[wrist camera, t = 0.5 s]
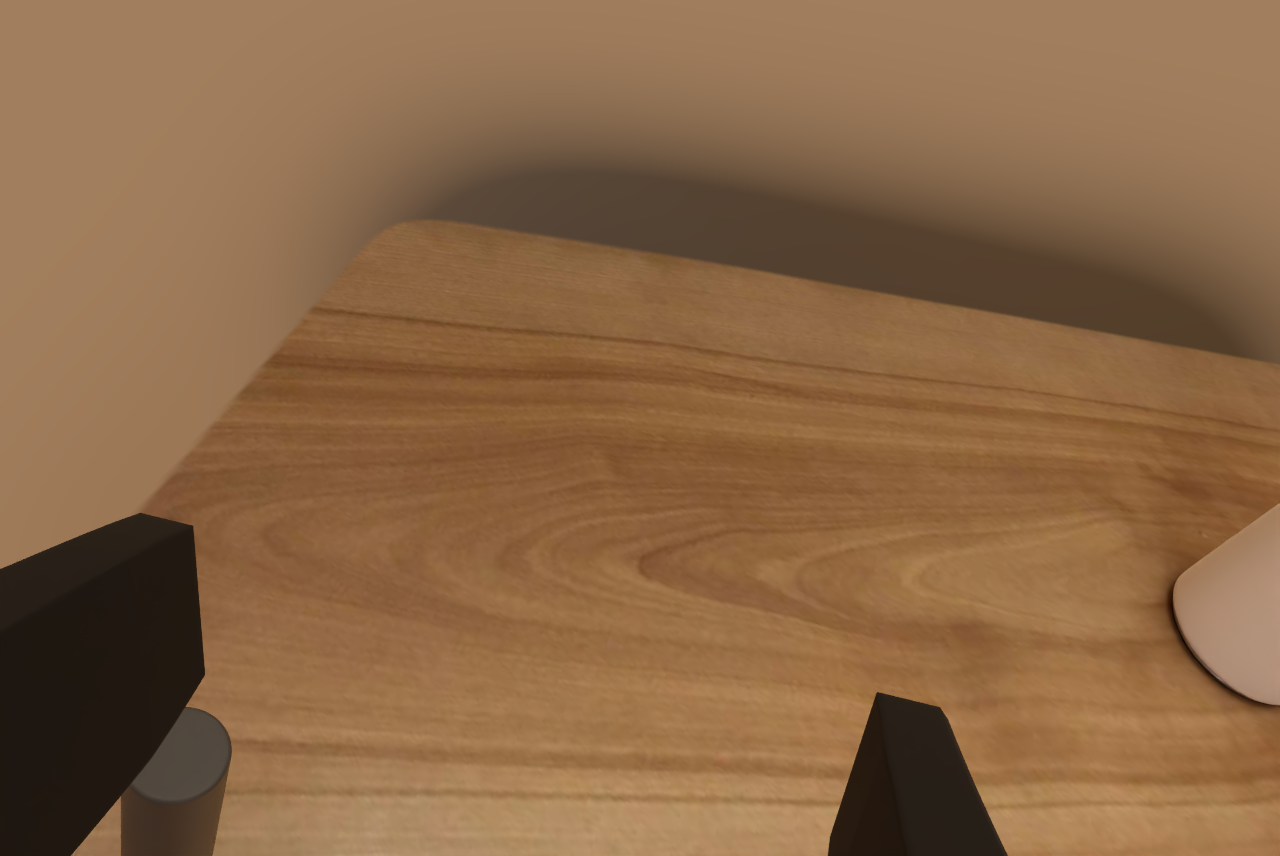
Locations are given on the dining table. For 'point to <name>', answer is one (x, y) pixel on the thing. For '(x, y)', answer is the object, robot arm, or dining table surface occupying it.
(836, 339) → the dining table surface
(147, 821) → the dark brown rod
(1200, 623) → the can
